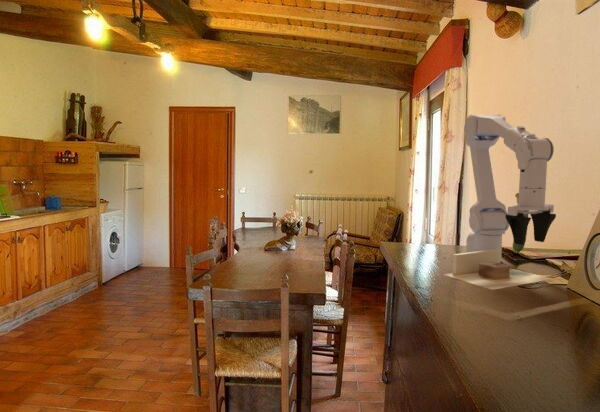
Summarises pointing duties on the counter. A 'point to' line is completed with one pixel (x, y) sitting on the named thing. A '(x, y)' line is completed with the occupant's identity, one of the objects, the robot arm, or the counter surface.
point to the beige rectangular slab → (474, 260)
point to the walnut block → (494, 270)
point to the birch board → (513, 280)
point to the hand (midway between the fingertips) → (529, 242)
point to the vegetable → (518, 247)
